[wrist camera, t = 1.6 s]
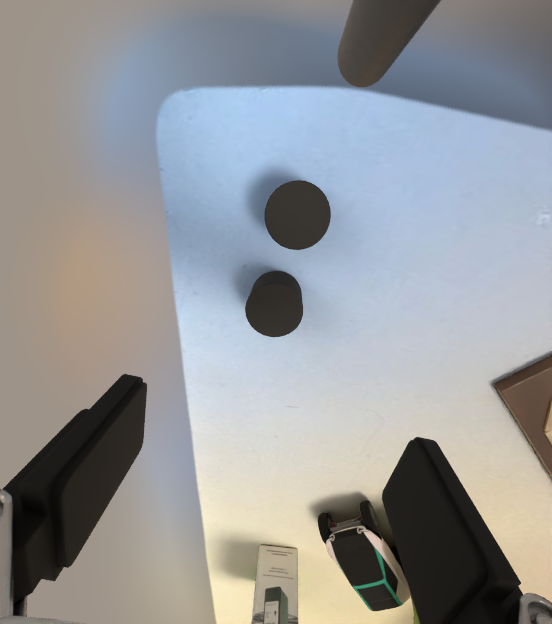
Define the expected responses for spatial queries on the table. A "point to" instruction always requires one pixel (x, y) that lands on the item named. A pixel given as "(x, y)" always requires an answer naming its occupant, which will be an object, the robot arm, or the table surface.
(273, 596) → the ink box
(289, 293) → the dot
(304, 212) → the black cylinder
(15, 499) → the robot arm
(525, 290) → the table surface
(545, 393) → the face board
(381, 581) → the toy car
